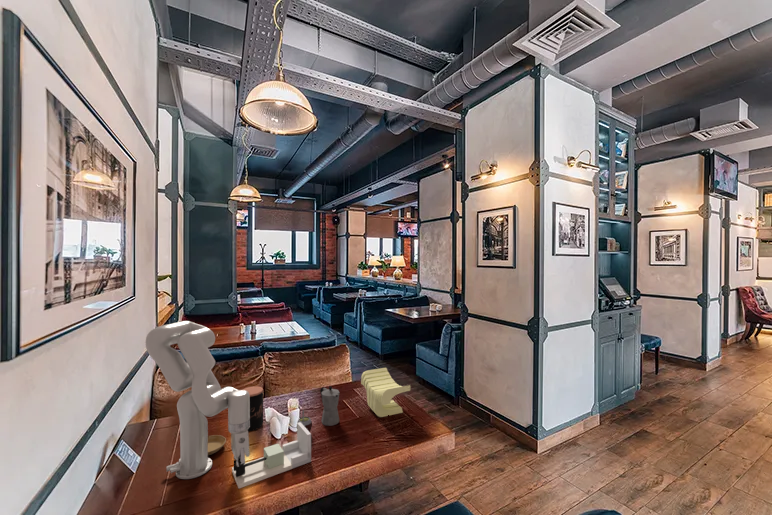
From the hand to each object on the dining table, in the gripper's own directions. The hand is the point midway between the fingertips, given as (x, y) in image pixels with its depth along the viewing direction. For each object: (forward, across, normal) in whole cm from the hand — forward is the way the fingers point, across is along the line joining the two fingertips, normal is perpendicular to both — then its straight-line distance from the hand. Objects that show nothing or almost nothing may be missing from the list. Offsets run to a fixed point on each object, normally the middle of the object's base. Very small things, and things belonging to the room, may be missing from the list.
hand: (239, 471), depth 129 cm
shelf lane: (+2, 0, -12) cm, 13 cm away
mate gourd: (+3, +14, -32) cm, 35 cm away
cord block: (+1, 0, -7) cm, 8 cm away
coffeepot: (+3, +21, -48) cm, 52 cm away
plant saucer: (+3, +28, +8) cm, 29 cm away
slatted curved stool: (+3, +14, -78) cm, 79 cm away
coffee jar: (+3, +38, -14) cm, 40 cm away
